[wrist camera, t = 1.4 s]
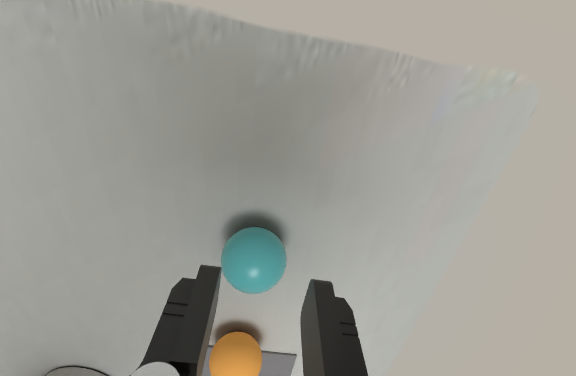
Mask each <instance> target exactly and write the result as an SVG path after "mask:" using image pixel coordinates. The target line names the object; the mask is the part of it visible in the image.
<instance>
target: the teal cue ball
mask: <svg viewBox="0 0 576 376" xmlns="http://www.w3.org/2000/svg"><path fill="white" fill-rule="evenodd" d="M221 267H222V271H223V274H224V276H225V278H226V280H227V281H228V282H229V283H230V284H231V285H232V286H233V287H234V288H236V289H237V290H239V291H241V292H244V293H249V294H257V293H262V292H265V291H267V290H269V289H271V288H272V287H273V286H275V285H276V284H277V283H278V282H279V280H280V279H281V277H282V275H283V273H284V271H285V267H286V252H285V248H284V246H283V244H282V242H281V241H280V239H279V238H278V237H277V236H276V235H275V234H274V233H272V232H271V231H269V230H267V229H264V228H260V227H250V228H245V229H242V230H240V231H238V232H237V233H235V234H234V235H233V236H232V237H231V238H230V239H229V240H228V241H227V243H226V244H225V246H224V249H223V251H222V256H221Z"/></svg>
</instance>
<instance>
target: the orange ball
mask: <svg viewBox="0 0 576 376" xmlns="http://www.w3.org/2000/svg"><path fill="white" fill-rule="evenodd" d="M261 366H262V353H261V349H260V346H259V344H258V343H257V341H256V340H255V339H254V338H253V337H252V336H250V335H249V334H247V333H244V332H231V333H228V334H226V335H224V336H223V337H222V338H220V339H219V340H218V341H217V343H216V344H215V345H214V347H213V349H212V351H211V354H210V359H209V369H210V373H211V376H258V374H259V372H260V369H261Z"/></svg>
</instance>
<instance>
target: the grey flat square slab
mask: <svg viewBox="0 0 576 376" xmlns="http://www.w3.org/2000/svg"><path fill="white" fill-rule="evenodd" d="M213 347H214V346H208V349H207V353H206V358H205V362H204V367H203V371H202V376H211V373H210V369H209V359H210V354H211V351H212V349H213ZM261 353H262V366H261V369H260V372H259V374H258V376H290V375H291V372H292V369H293V366H294V363H295V359H296V355H295V354H285V353H275V352H266V351H261Z"/></svg>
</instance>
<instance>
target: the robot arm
mask: <svg viewBox="0 0 576 376" xmlns="http://www.w3.org/2000/svg"><path fill="white" fill-rule="evenodd" d="M220 278H221V267H215V266H208V265H201V266H200V268H199V271H198V275H197V278H196V279H188V278H182V279H181V280H180V281H179V282H178V283H177V284H176V285H175V286H174V287H173V288H172V290H171V293H170V295H169V298H168V300H167V304H166V305H165V308H164V310H163V312H162V315H161V317H160V320H159V322H158V325H157V327H156V330H155V332H154V335H153V337H152V340H151V342H150V345H149V347H148V350H147V352H146V355H145V357H144V359H143V361H142V363H141V364H140V366H139V367H138V368H137V369H136V371H135V372H133V373H132V374H131V375H130V376H202V371H203V367H204V362H205V358H206V353H207V349H208V344H209V340H210V335H211V331H212V326H213V322H214V317H215V313H216V307H217V302H218V294H219V286H220ZM355 324H356V323H355V319H354V315H353V311H352V309H351V308H350V306H349V305H348V303H347V302H346V300H345V299H344V298H339V297H335V295H334V290H333V285H332V282H330V281H322V280H314V279H311V281H310V283H309V286H308V290H307V293H306V296H305V300H304V303H303V306H302V311H301V341H302V357H303V373H304V376H368V373H367V369H366V365H365V361H364V357H363V352H362V348H361V344H360V340H359V338H358V332H357V327H356V326H355ZM46 376H105V375H103V374H101V373H99V372H96V371H93V370H90V369H85V368H78V367H65V368H59V369H56V370H53V371H51V372H50V373H48V374H47V375H46Z"/></svg>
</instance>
